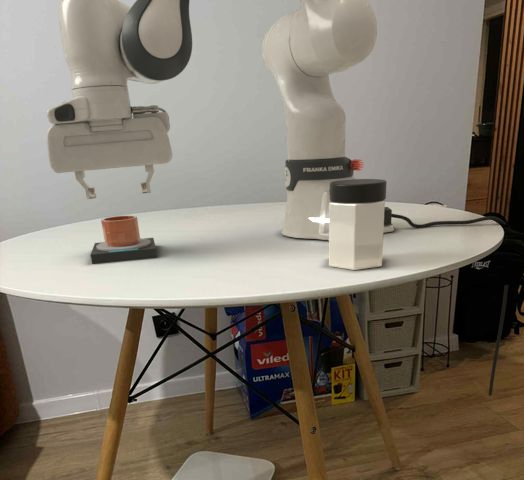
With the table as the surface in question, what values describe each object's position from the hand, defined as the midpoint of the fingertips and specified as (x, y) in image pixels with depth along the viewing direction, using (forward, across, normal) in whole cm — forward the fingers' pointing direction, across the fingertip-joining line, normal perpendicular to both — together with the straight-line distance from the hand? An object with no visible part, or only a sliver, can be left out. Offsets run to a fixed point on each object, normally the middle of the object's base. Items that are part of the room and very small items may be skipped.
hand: (119, 195), depth 88 cm
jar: (+11, -34, +24) cm, 43 cm away
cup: (+8, +1, 0) cm, 8 cm away
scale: (+10, +1, 0) cm, 10 cm away
